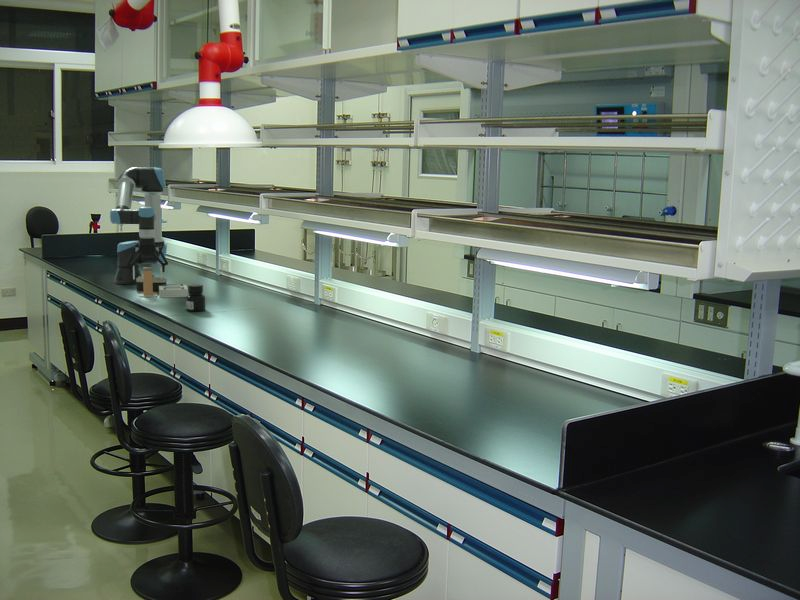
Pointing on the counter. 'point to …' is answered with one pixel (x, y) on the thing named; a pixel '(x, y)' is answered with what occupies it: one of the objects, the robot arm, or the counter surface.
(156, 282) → the camera
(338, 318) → the counter surface
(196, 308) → the ink bottle
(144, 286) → the plug
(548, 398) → the counter surface
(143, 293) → the mat
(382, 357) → the counter surface
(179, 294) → the frame
